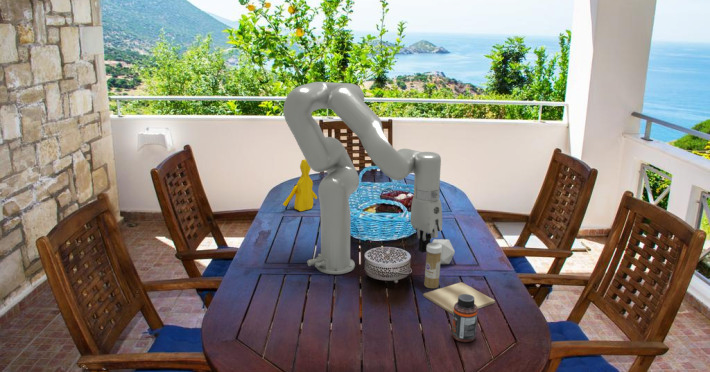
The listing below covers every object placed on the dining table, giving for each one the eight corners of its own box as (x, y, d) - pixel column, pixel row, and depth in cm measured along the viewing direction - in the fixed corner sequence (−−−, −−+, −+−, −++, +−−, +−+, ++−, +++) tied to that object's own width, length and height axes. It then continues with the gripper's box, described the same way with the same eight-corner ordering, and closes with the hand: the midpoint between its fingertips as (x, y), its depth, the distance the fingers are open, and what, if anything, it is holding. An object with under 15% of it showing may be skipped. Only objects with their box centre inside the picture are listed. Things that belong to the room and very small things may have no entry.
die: (447, 271, 187) (462, 246, 188) (424, 257, 187) (439, 232, 188) (442, 270, 195) (457, 246, 196) (421, 256, 195) (435, 232, 196)
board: (455, 316, 158) (455, 313, 158) (423, 296, 169) (423, 293, 169) (494, 302, 166) (495, 300, 165) (461, 284, 177) (461, 281, 177)
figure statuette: (314, 203, 252) (314, 154, 246) (325, 207, 246) (325, 157, 240) (280, 211, 241) (278, 160, 234) (290, 216, 235) (289, 163, 229)
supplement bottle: (449, 331, 150) (451, 291, 147) (471, 330, 151) (474, 291, 148) (454, 343, 145) (457, 303, 141) (478, 342, 145) (481, 302, 142)
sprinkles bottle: (421, 285, 175) (423, 244, 172) (429, 280, 179) (432, 240, 175) (433, 290, 173) (436, 249, 169) (442, 285, 176) (445, 244, 172)
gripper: (453, 198, 167) (449, 256, 173) (420, 185, 179) (418, 240, 185) (433, 202, 164) (430, 262, 169) (401, 189, 176) (399, 245, 181)
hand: (424, 250), depth 177 cm, fingers closed
